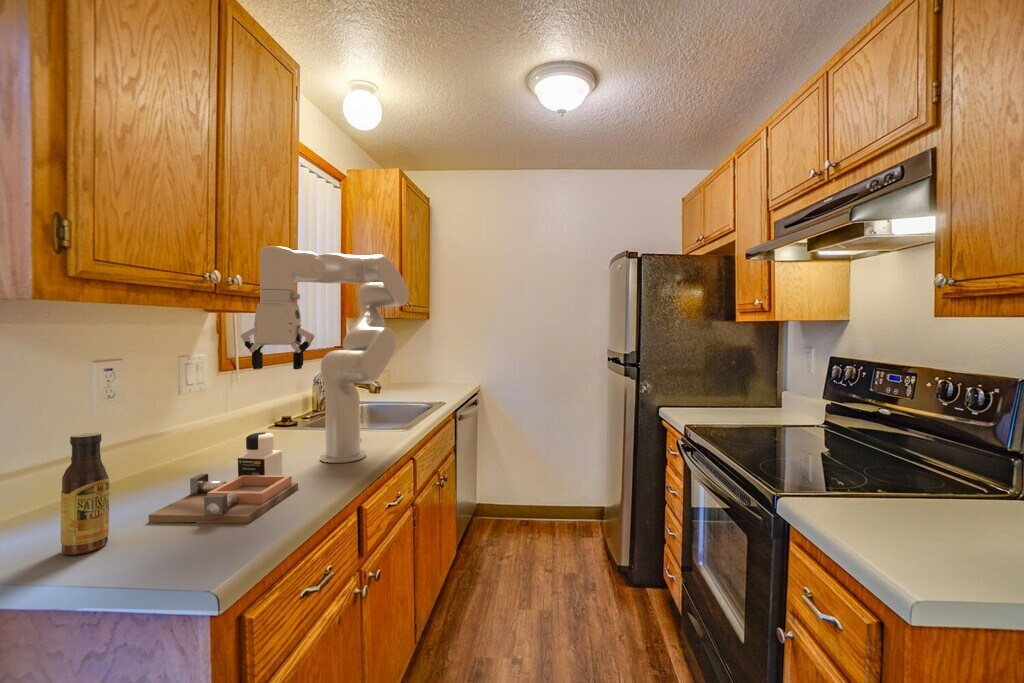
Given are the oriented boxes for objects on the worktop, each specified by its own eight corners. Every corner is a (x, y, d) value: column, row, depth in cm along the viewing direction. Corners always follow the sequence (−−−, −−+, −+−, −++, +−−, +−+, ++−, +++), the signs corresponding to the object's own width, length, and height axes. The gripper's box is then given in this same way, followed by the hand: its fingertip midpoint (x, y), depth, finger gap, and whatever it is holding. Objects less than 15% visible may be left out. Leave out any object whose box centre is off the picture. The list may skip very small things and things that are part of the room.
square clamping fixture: (216, 488, 113) (215, 466, 113) (298, 488, 113) (297, 467, 112) (148, 522, 93) (148, 496, 93) (247, 523, 93) (247, 497, 92)
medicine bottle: (237, 485, 115) (236, 436, 115) (257, 476, 122) (256, 430, 122) (264, 487, 114) (263, 437, 114) (282, 477, 121) (282, 431, 121)
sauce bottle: (80, 559, 79) (76, 440, 78) (50, 555, 80) (47, 438, 79) (120, 541, 85) (117, 431, 85) (92, 538, 86) (89, 430, 86)
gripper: (319, 299, 119) (319, 368, 119) (250, 299, 119) (250, 367, 119) (306, 297, 111) (306, 370, 112) (232, 297, 111) (233, 370, 112)
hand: (277, 368), depth 115 cm, fingers open, 9 cm apart
